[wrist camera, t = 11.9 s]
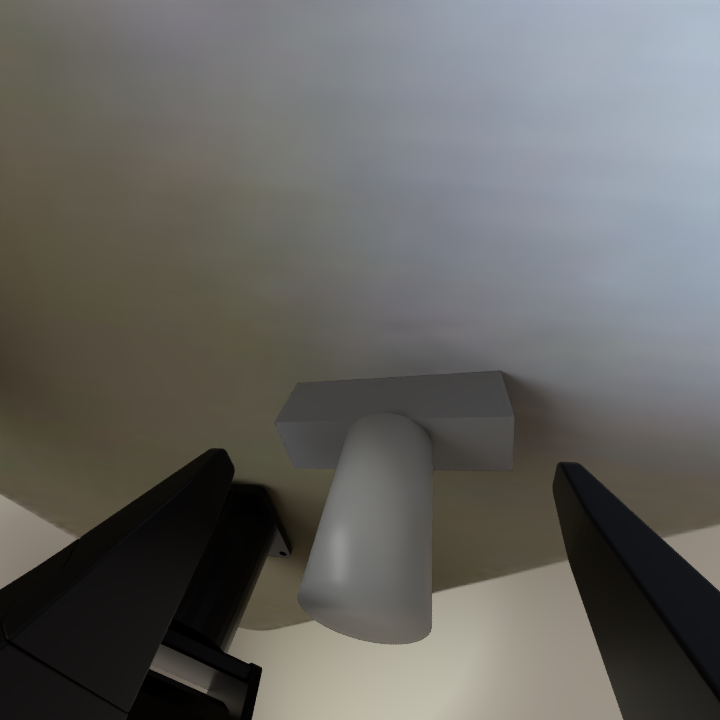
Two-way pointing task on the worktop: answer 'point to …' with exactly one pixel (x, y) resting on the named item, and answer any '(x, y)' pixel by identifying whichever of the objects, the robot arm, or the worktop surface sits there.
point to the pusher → (387, 488)
